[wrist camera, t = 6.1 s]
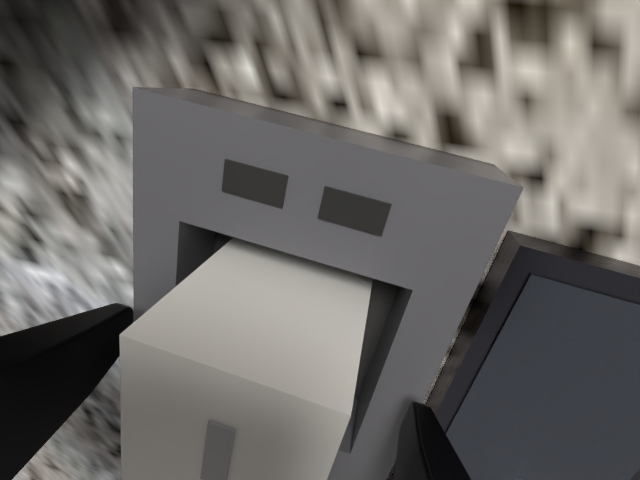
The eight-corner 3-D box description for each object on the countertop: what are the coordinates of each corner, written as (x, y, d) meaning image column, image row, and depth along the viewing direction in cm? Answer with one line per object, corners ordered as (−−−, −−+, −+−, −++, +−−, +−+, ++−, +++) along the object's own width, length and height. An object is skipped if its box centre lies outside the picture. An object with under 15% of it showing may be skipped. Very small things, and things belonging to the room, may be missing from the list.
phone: (533, 558, 14) (543, 593, 13) (379, 502, 14) (377, 531, 13) (760, 298, 9) (805, 324, 8) (508, 230, 9) (521, 246, 8)
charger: (339, 374, 12) (298, 555, 7) (226, 336, 12) (119, 484, 8) (374, 270, 10) (350, 418, 5) (241, 230, 10) (115, 337, 6)
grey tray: (372, 453, 13) (366, 525, 11) (175, 384, 14) (132, 438, 12) (493, 164, 9) (525, 188, 7) (193, 88, 10) (130, 87, 7)
